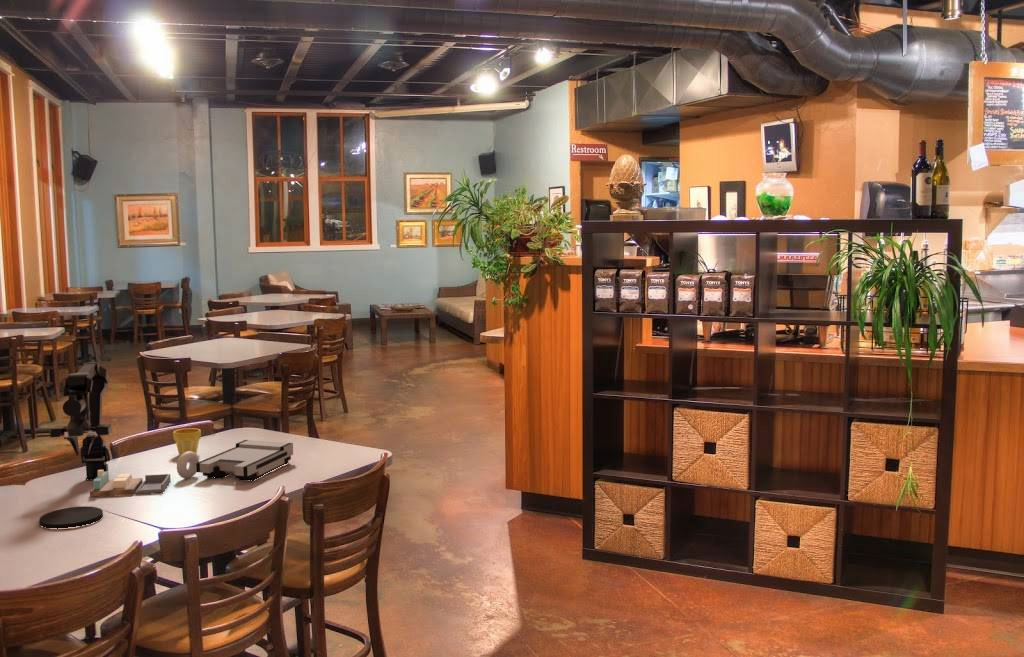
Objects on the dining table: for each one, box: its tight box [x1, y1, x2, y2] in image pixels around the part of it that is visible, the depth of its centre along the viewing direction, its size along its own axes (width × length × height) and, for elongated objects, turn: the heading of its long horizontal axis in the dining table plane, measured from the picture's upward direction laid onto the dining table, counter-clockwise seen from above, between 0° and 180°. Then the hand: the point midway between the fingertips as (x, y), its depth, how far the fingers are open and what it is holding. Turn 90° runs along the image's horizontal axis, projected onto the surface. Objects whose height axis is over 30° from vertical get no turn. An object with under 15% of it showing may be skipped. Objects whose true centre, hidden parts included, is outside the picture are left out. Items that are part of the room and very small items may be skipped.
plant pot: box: [172, 427, 202, 457], centre depth 362 cm, size 10×10×10 cm
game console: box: [196, 439, 294, 482], centre depth 336 cm, size 21×32×8 cm, turn 164°
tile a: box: [113, 477, 129, 488], centre depth 310 cm, size 4×4×2 cm
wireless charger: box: [38, 505, 104, 529], centre depth 280 cm, size 18×18×2 cm
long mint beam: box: [92, 470, 110, 490], centre depth 311 cm, size 2×12×5 cm, turn 11°
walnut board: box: [89, 477, 144, 498], centre depth 313 cm, size 14×14×2 cm
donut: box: [176, 451, 200, 480], centre depth 327 cm, size 10×4×10 cm, turn 159°
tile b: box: [116, 473, 133, 483], centre depth 315 cm, size 4×4×2 cm
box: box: [134, 473, 172, 495], centre depth 315 cm, size 9×14×3 cm, turn 11°
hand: (82, 455), depth 309 cm, fingers open, 3 cm apart
